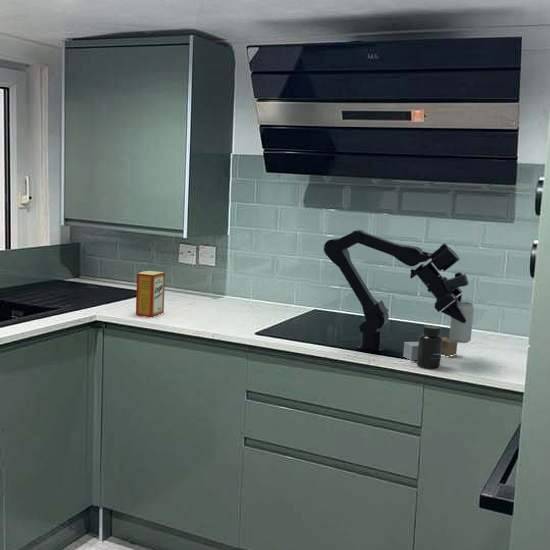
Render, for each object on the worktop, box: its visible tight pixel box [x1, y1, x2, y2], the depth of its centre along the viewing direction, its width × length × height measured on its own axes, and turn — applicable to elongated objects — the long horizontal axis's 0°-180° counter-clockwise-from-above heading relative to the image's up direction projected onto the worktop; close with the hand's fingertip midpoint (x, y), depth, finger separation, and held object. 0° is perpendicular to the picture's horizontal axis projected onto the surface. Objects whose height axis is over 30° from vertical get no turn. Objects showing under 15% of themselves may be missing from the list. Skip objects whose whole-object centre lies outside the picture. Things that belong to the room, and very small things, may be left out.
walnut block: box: [441, 336, 458, 356], centre depth 230 cm, size 5×5×5 cm
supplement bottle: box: [416, 325, 443, 370], centre depth 214 cm, size 7×7×12 cm
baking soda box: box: [135, 270, 166, 318], centre depth 267 cm, size 10×6×16 cm
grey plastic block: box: [402, 341, 419, 362], centre depth 222 cm, size 5×5×5 cm
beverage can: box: [448, 300, 475, 344], centre depth 219 cm, size 6×6×12 cm
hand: (466, 320), depth 219 cm, fingers closed on beverage can, 6 cm apart
